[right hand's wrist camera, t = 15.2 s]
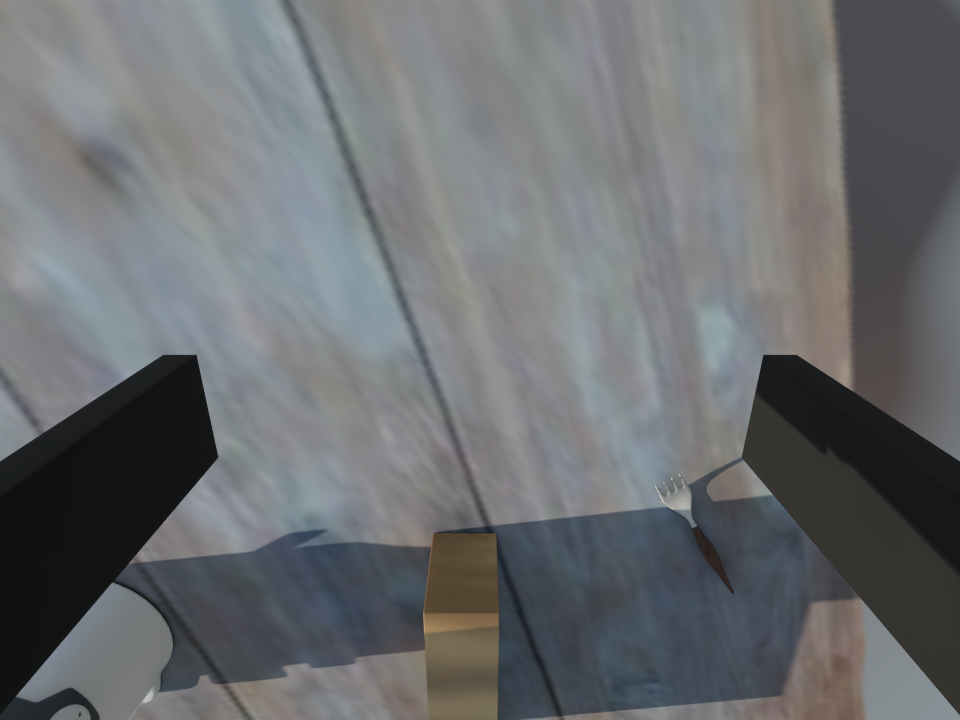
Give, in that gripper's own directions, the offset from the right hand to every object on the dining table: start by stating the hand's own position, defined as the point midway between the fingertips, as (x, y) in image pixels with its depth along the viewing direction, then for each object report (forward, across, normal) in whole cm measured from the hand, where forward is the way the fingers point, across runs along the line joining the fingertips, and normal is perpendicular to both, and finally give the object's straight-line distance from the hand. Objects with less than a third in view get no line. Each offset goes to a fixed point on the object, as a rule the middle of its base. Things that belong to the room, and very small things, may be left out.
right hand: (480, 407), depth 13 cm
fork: (+28, +20, -26) cm, 43 cm away
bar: (+28, -1, -40) cm, 48 cm away
